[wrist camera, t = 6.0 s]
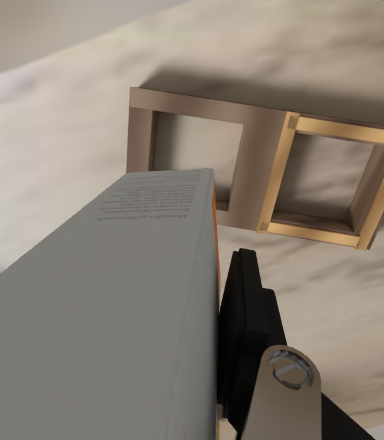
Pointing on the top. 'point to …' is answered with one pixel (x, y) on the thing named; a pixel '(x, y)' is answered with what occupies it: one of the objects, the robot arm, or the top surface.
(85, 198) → the top surface
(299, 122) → the wooden flat frame
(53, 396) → the skincare box
